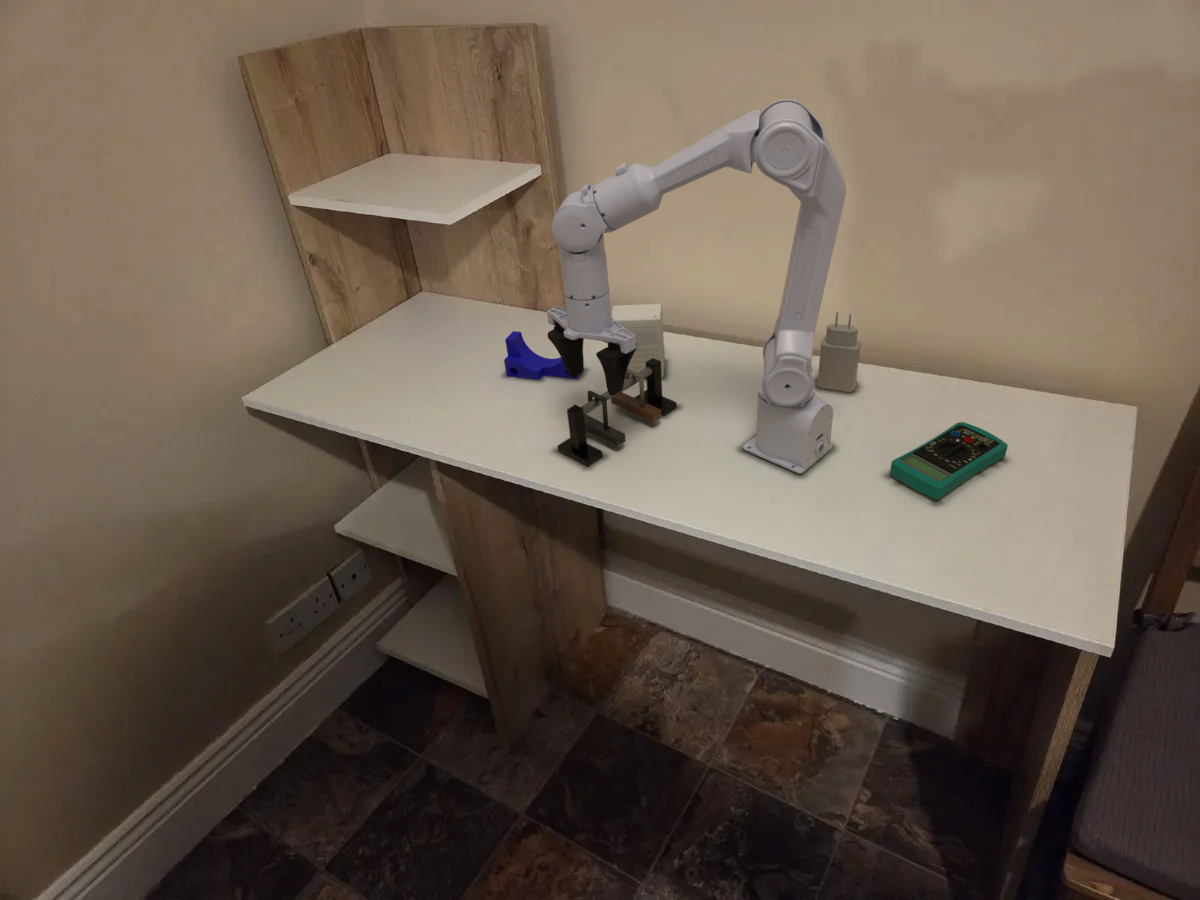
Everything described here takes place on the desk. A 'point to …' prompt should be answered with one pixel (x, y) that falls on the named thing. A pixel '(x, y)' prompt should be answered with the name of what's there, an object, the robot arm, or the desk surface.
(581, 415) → the rail stand
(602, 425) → the black hanger
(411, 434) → the desk surface
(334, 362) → the desk surface
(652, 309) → the small box
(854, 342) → the power adapter
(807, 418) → the robot arm
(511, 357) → the blue curved cradle bracket
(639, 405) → the walnut hanger
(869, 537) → the desk surface
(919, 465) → the digital multimeter
